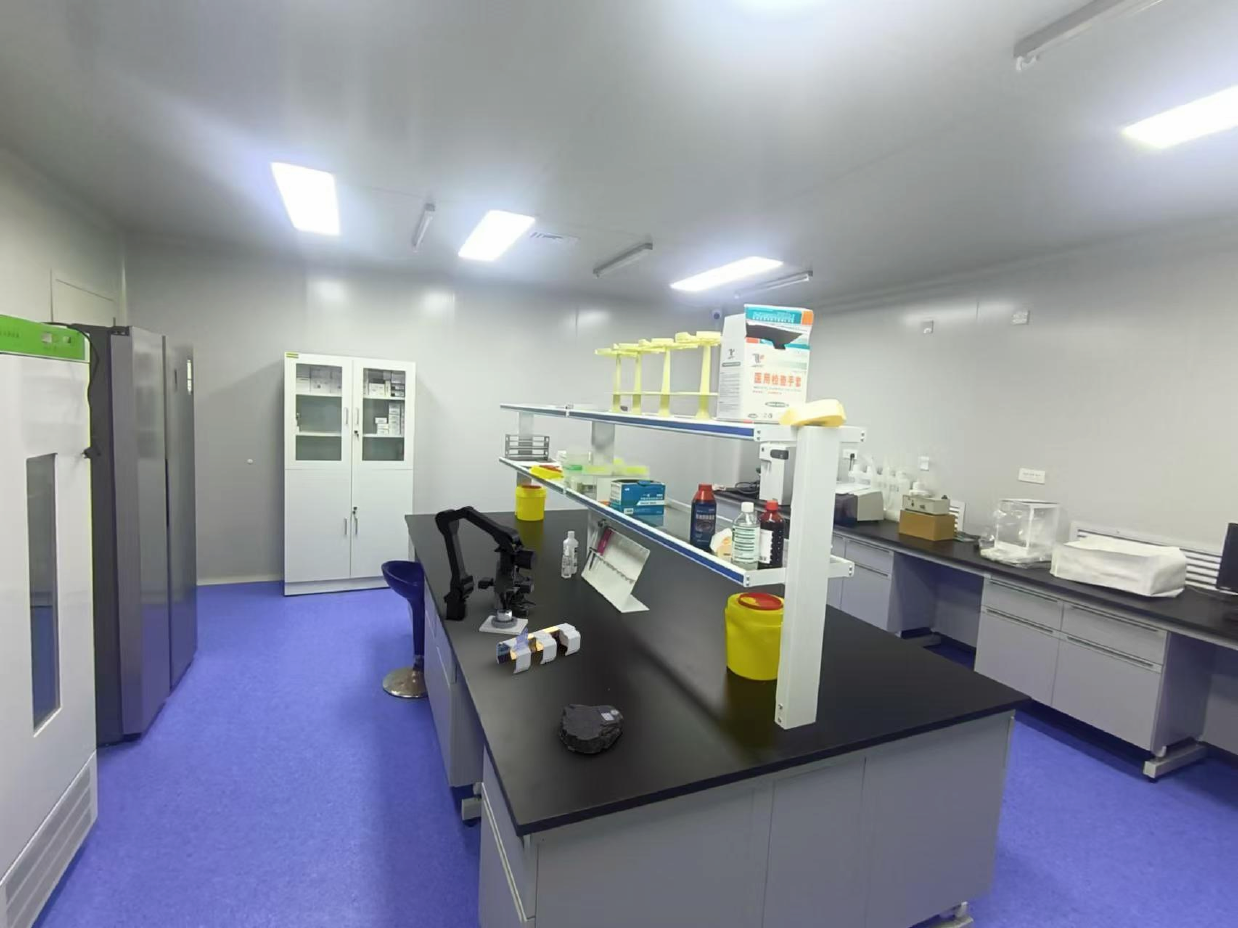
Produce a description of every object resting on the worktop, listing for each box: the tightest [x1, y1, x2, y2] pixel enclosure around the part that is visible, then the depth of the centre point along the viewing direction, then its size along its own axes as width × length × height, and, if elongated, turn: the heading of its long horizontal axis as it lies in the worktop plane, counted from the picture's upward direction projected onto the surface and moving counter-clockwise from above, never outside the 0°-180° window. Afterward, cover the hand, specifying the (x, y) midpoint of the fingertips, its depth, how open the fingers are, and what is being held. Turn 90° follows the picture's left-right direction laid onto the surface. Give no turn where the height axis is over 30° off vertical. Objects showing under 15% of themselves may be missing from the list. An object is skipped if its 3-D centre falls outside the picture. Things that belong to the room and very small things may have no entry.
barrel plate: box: [479, 615, 529, 636], centre depth 197 cm, size 14×12×2 cm
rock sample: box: [558, 703, 625, 754], centre depth 135 cm, size 18×16×5 cm
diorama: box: [495, 622, 581, 675], centre depth 174 cm, size 25×10×13 cm, turn 136°
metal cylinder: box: [496, 607, 513, 623], centre depth 196 cm, size 5×5×5 cm
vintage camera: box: [493, 559, 538, 616], centre depth 211 cm, size 10×15×20 cm, turn 53°
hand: (504, 608), depth 196 cm, fingers closed
